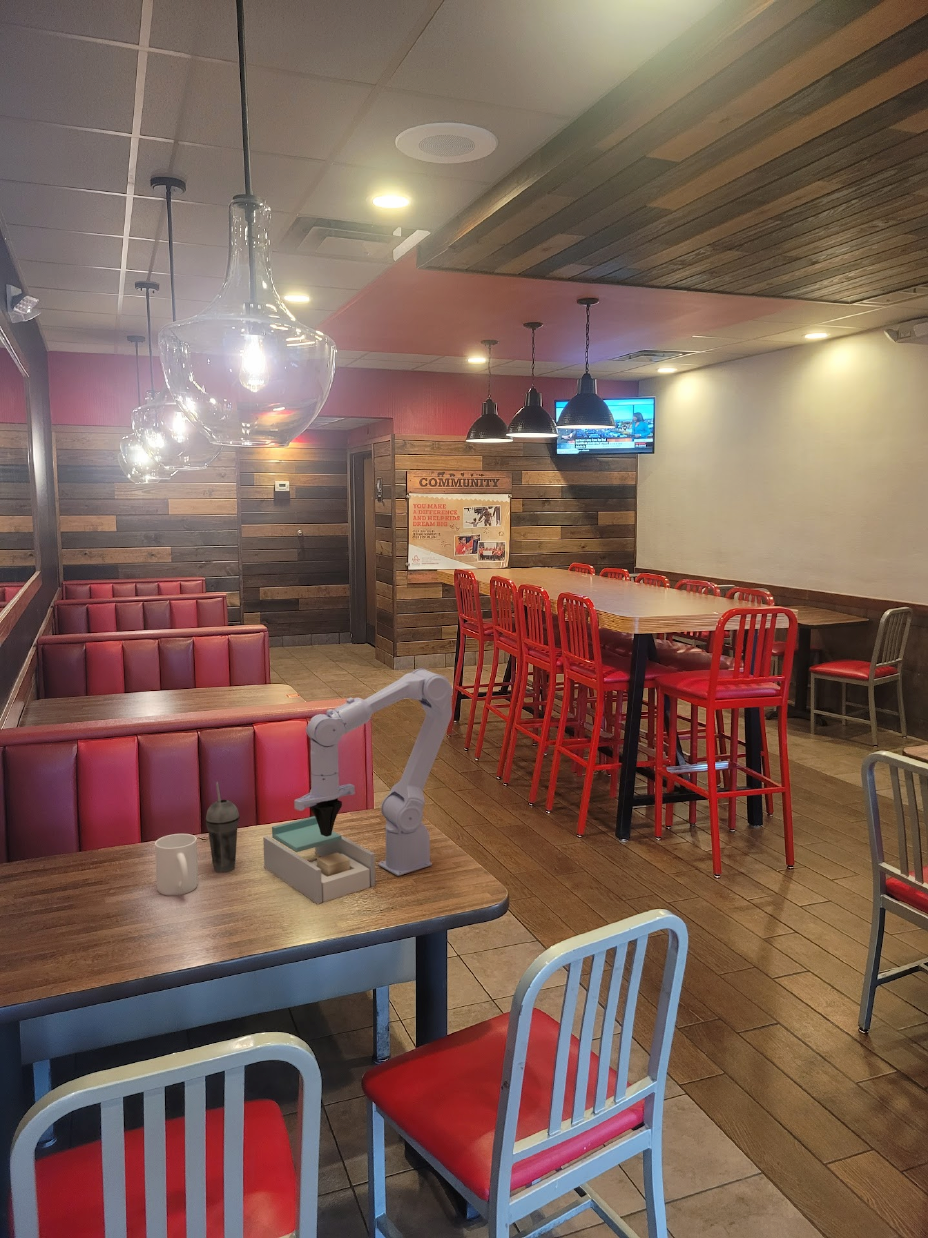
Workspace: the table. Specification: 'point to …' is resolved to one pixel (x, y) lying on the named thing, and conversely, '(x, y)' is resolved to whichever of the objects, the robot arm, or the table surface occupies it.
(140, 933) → the table surface
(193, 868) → the mug
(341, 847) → the housing
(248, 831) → the table surface
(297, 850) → the lid
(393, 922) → the table surface
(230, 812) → the beverage cup
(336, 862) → the peg
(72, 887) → the table surface
